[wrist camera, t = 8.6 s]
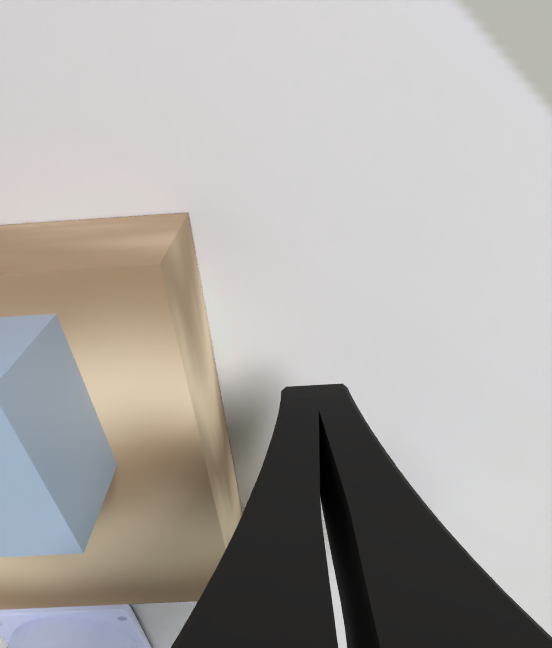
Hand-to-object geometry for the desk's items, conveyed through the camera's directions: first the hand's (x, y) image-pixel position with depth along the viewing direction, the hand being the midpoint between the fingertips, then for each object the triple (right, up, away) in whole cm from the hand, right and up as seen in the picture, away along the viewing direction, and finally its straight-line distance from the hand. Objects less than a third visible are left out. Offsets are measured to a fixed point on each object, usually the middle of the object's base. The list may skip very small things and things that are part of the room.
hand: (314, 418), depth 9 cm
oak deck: (-9, -1, +6) cm, 11 cm away
